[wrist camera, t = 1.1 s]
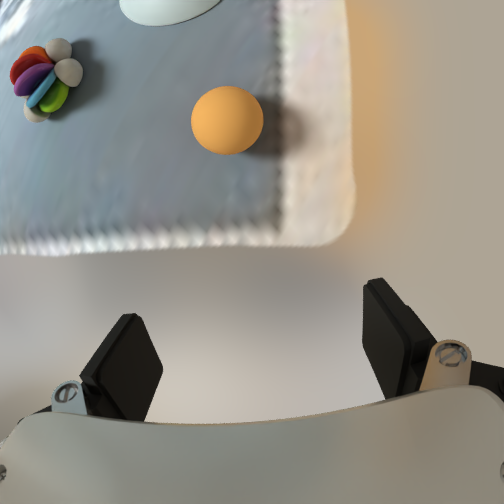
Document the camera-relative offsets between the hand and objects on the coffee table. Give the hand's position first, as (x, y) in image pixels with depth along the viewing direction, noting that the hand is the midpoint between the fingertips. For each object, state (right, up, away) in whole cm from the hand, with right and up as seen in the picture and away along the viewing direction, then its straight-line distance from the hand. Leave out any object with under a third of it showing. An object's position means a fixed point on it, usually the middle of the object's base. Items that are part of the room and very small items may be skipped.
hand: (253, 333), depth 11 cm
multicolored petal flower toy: (-23, +23, +12) cm, 35 cm away
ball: (-2, +14, +11) cm, 18 cm away
